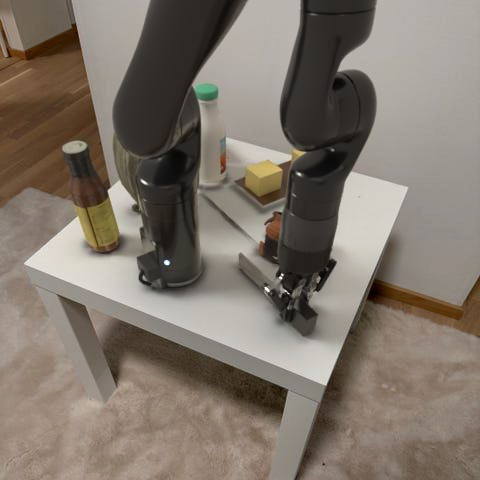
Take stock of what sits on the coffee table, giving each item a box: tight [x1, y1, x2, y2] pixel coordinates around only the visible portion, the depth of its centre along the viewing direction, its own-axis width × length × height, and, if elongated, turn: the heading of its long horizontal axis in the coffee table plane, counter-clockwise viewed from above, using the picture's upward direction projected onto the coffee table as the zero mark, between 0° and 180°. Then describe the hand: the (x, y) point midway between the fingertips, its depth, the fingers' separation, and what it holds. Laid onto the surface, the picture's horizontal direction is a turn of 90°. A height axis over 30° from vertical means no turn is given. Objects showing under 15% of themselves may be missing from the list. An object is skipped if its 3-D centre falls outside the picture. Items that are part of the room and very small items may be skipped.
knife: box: [237, 252, 319, 337], centre depth 75 cm, size 2×20×4 cm, turn 36°
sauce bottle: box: [61, 140, 121, 253], centre depth 78 cm, size 7×6×20 cm
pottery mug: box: [258, 210, 283, 264], centre depth 83 cm, size 12×10×8 cm
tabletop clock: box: [112, 130, 200, 212], centre depth 83 cm, size 14×9×25 cm, turn 123°
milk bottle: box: [194, 82, 227, 184], centre depth 93 cm, size 8×8×20 cm
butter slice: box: [290, 149, 306, 167], centre depth 99 cm, size 2×5×4 cm, turn 35°
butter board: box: [233, 159, 291, 207], centre depth 99 cm, size 17×11×2 cm, turn 125°
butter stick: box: [245, 159, 283, 197], centre depth 95 cm, size 6×5×4 cm
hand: (292, 315), depth 73 cm, fingers closed on knife, 2 cm apart
